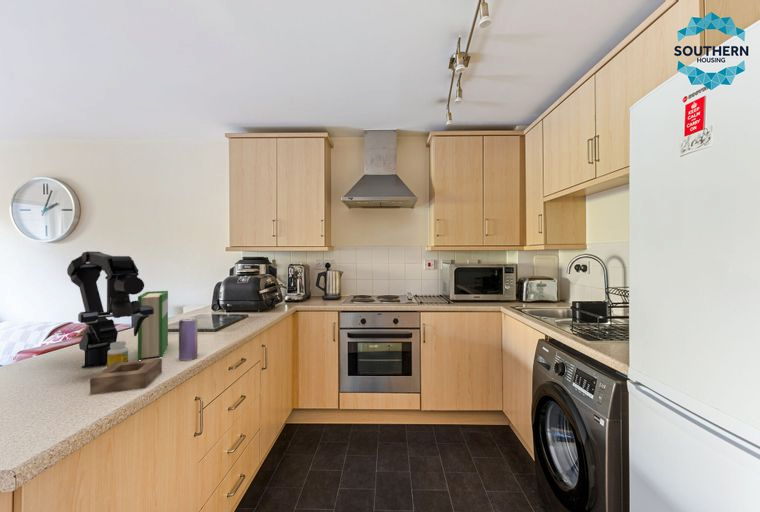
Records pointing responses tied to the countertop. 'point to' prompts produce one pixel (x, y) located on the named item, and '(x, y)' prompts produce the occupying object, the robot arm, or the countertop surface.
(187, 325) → the beverage can
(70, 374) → the countertop surface
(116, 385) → the well block
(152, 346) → the hardback book
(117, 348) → the supplement bottle
